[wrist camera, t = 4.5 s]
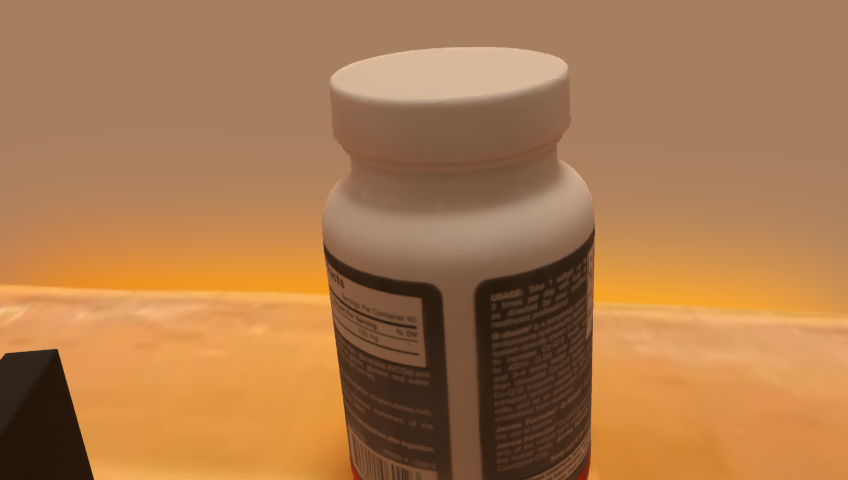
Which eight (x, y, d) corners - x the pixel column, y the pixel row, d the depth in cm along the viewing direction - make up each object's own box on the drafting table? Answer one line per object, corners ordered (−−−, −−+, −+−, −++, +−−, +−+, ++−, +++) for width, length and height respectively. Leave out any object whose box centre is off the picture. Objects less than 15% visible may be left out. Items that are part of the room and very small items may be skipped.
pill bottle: (563, 398, 22) (568, 34, 18) (617, 554, 17) (640, 92, 13) (356, 414, 22) (316, 51, 18) (346, 574, 17) (287, 115, 13)
